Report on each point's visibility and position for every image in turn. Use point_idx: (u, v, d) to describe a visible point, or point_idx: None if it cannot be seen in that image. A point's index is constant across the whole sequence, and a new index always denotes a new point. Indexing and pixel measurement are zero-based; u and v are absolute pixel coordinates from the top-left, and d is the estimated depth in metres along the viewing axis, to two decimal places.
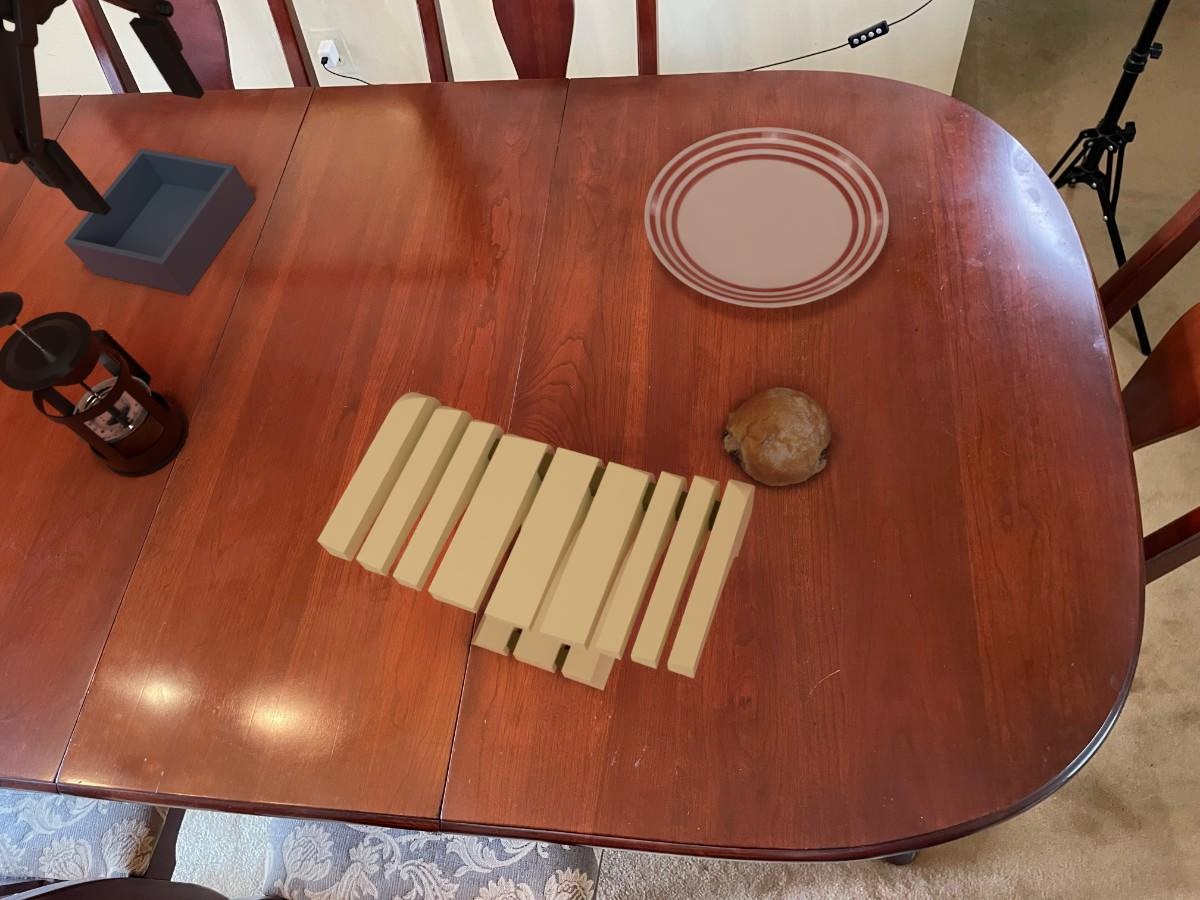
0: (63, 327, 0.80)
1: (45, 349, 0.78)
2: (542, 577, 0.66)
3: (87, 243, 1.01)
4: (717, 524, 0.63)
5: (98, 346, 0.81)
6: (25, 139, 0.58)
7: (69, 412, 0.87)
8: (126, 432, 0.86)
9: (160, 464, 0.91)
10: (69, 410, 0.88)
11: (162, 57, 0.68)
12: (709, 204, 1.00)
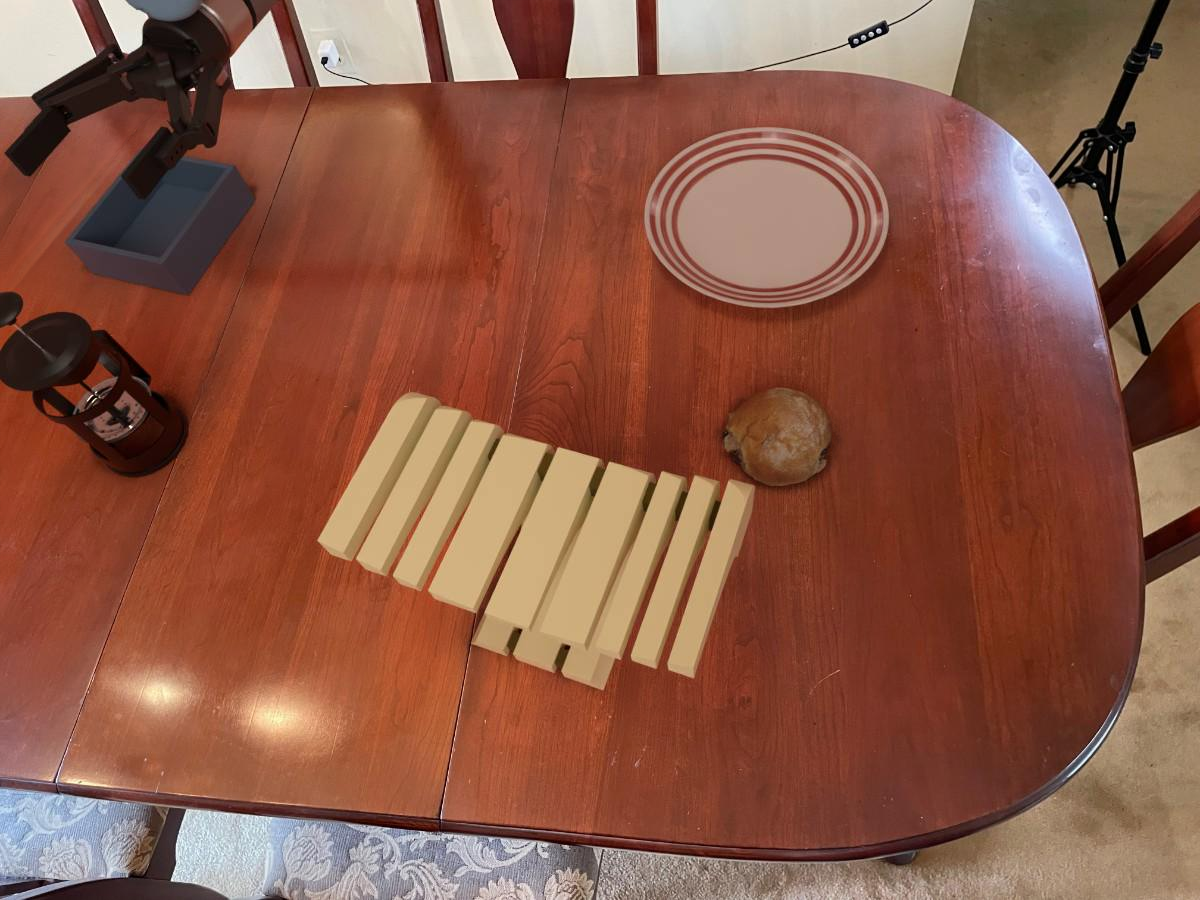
0: (63, 327, 0.80)
1: (45, 349, 0.78)
2: (542, 577, 0.66)
3: (87, 243, 1.01)
4: (717, 524, 0.63)
5: (98, 346, 0.81)
6: None
7: (69, 412, 0.87)
8: (126, 432, 0.86)
9: (160, 464, 0.91)
10: (69, 410, 0.88)
11: (43, 138, 0.81)
12: (709, 204, 1.00)
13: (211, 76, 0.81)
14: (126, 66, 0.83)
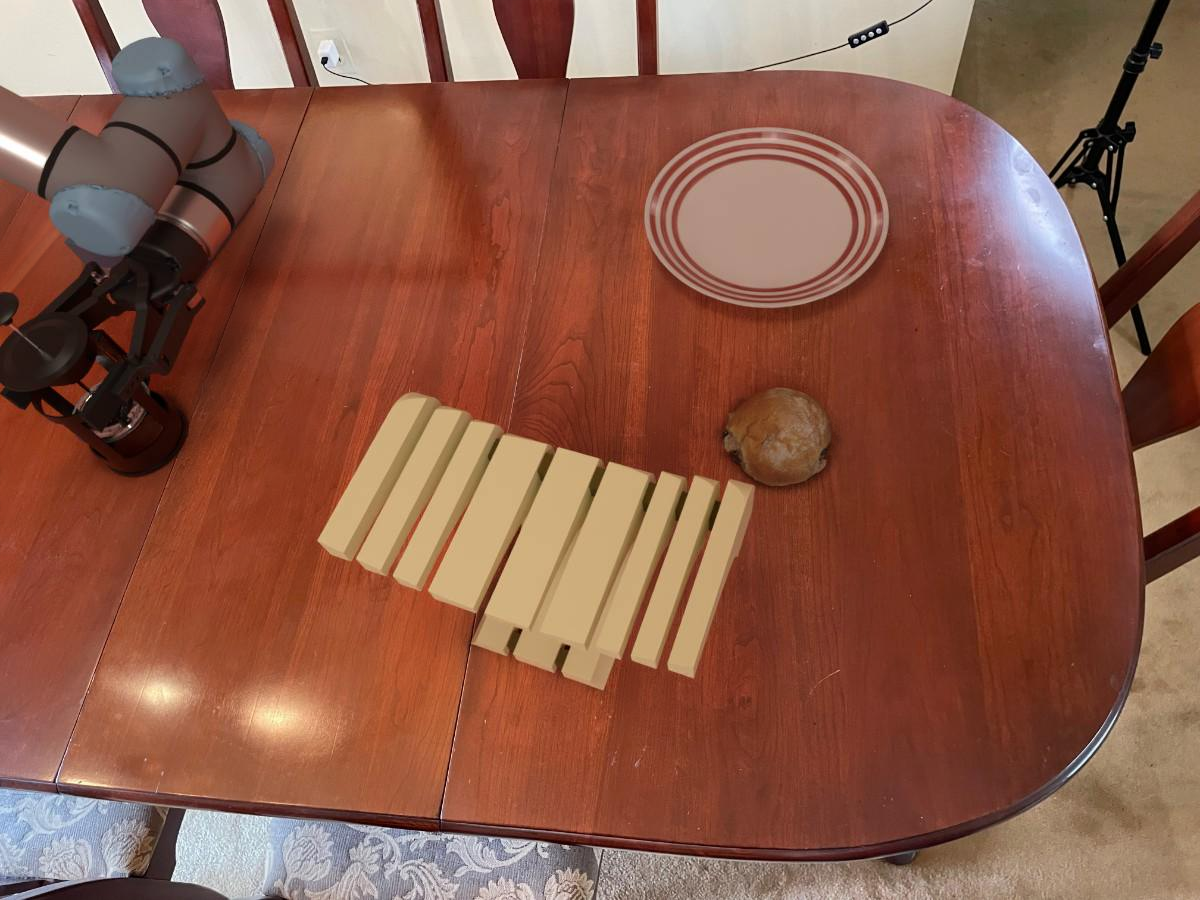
0: (60, 327, 0.79)
1: (42, 349, 0.78)
2: (542, 577, 0.66)
3: None
4: (717, 524, 0.63)
5: (95, 346, 0.81)
6: None
7: (68, 412, 0.87)
8: (125, 432, 0.86)
9: (159, 464, 0.91)
10: (68, 410, 0.88)
11: None
12: (709, 204, 1.00)
13: (181, 303, 0.85)
14: (112, 286, 0.86)
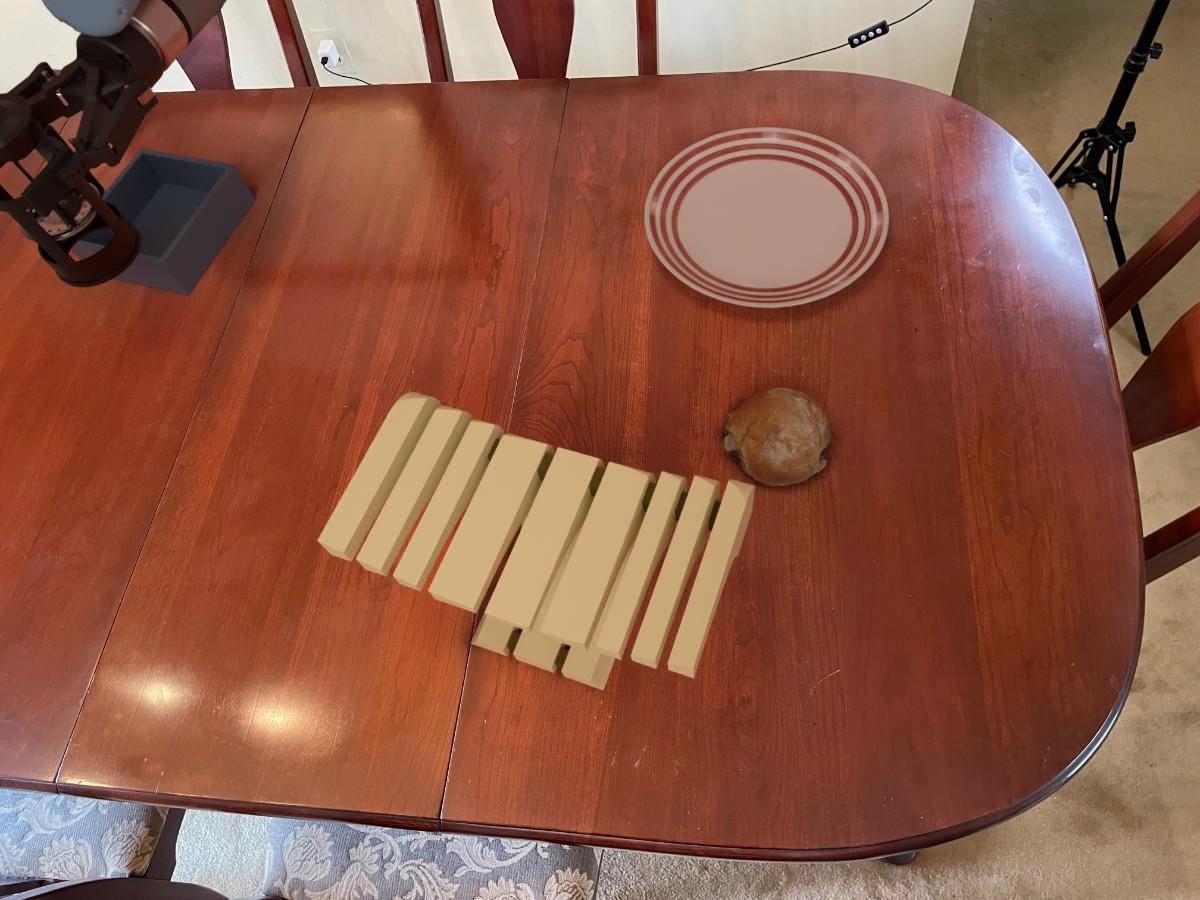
0: (3, 105, 0.77)
1: None
2: (542, 577, 0.66)
3: (87, 243, 1.01)
4: (717, 524, 0.63)
5: (40, 128, 0.79)
6: None
7: None
8: (73, 230, 0.84)
9: (111, 274, 0.89)
10: None
11: None
12: (709, 204, 1.00)
13: (131, 96, 0.83)
14: (61, 81, 0.84)
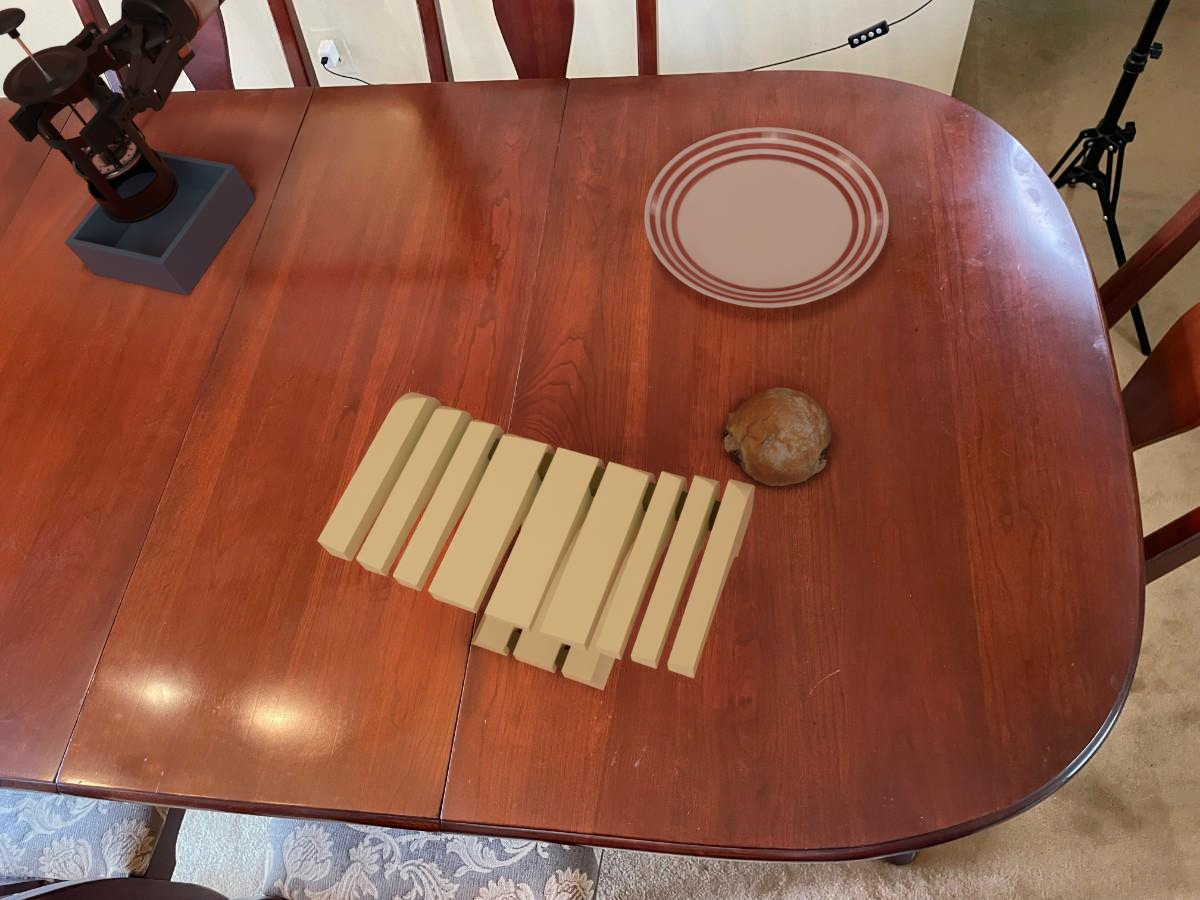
0: (62, 55, 0.88)
1: (46, 71, 0.87)
2: (542, 577, 0.66)
3: (87, 243, 1.01)
4: (717, 524, 0.63)
5: (94, 75, 0.89)
6: None
7: (69, 155, 0.96)
8: (121, 169, 0.95)
9: (153, 211, 1.00)
10: None
11: (42, 108, 0.93)
12: (709, 204, 1.00)
13: (172, 49, 0.94)
14: (109, 37, 0.95)
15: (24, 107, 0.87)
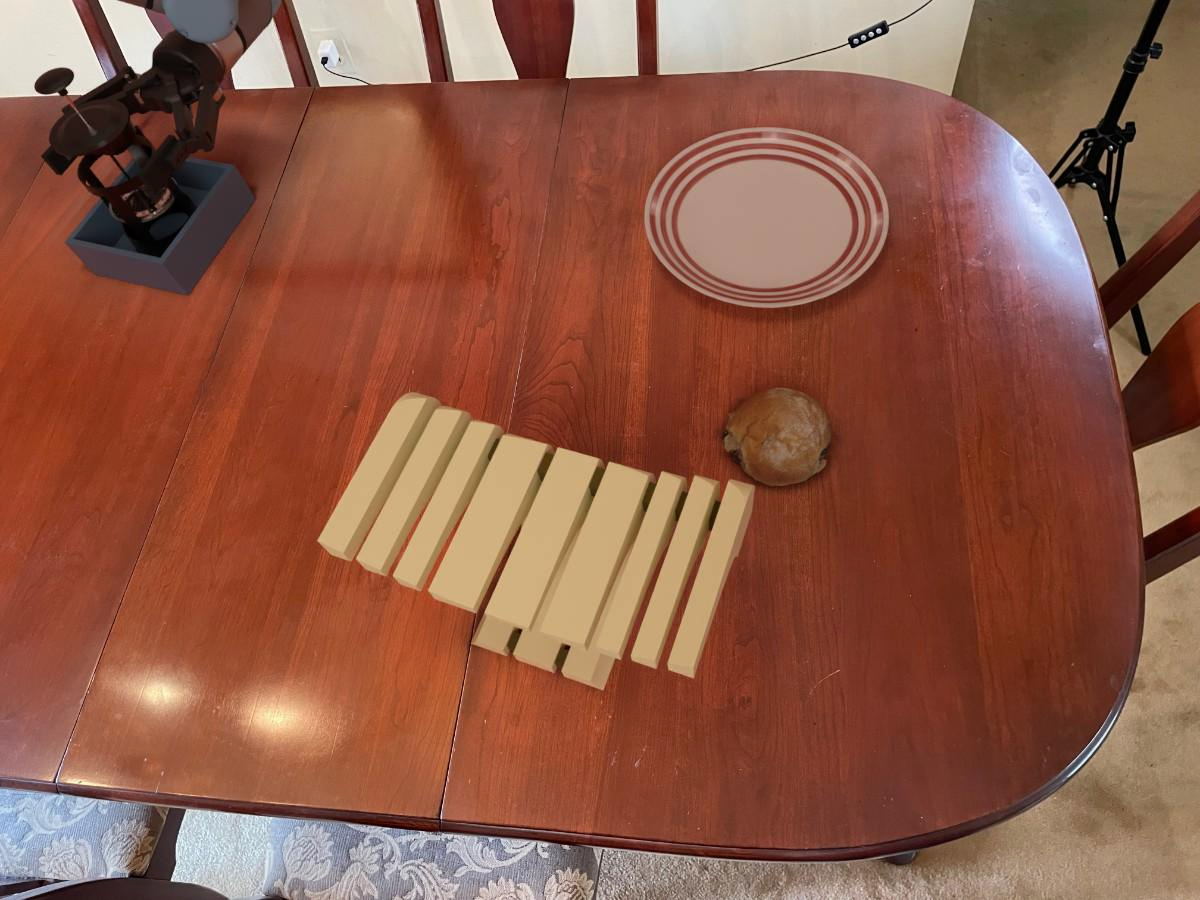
0: (105, 109, 0.94)
1: (90, 124, 0.93)
2: (542, 577, 0.66)
3: (87, 243, 1.01)
4: (717, 524, 0.63)
5: (134, 128, 0.95)
6: None
7: (106, 199, 1.02)
8: (156, 213, 1.01)
9: None
10: None
11: None
12: (709, 204, 1.00)
13: (209, 93, 0.99)
14: (139, 85, 1.01)
15: (69, 158, 0.93)
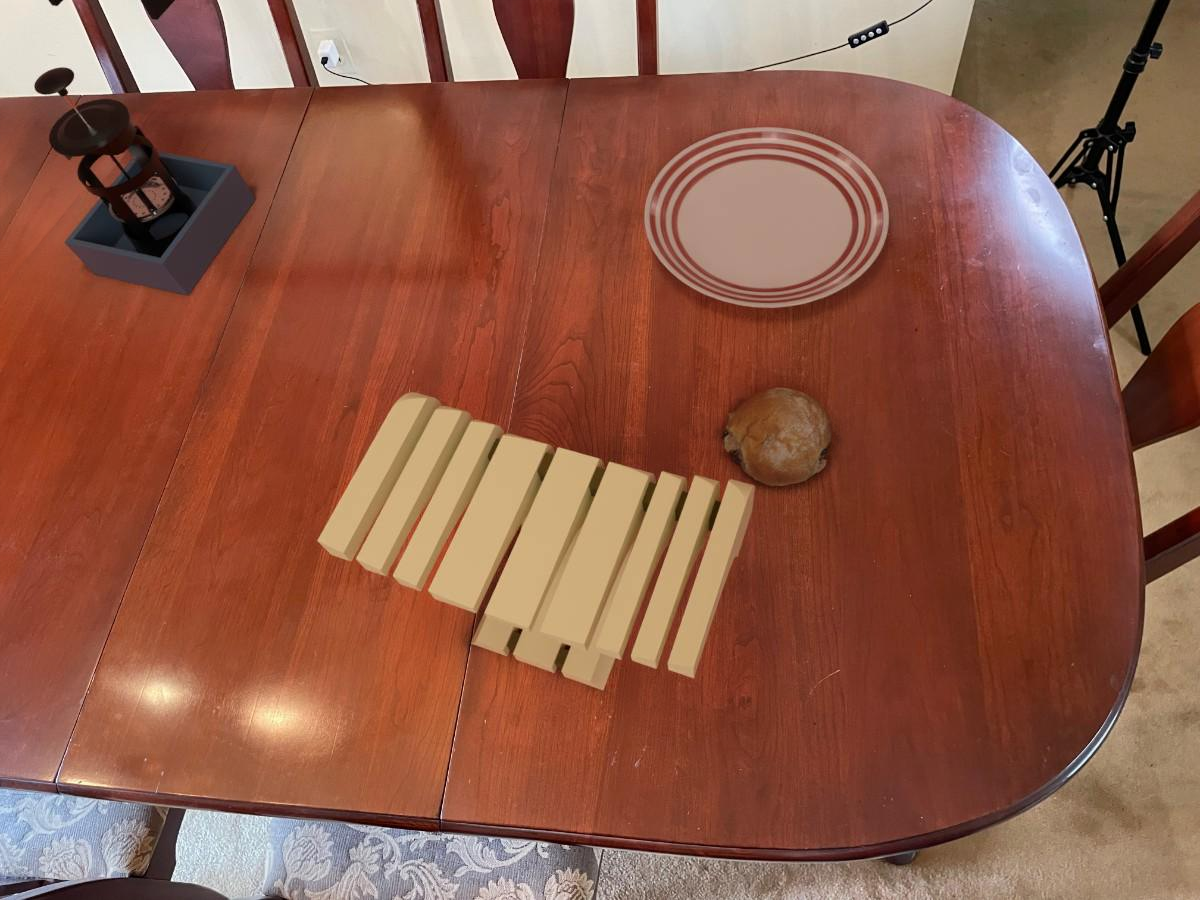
0: (105, 109, 0.94)
1: (90, 124, 0.93)
2: (542, 577, 0.66)
3: (87, 243, 1.01)
4: (717, 524, 0.63)
5: (134, 128, 0.95)
6: None
7: (106, 199, 1.02)
8: (156, 213, 1.01)
9: None
10: None
11: None
12: (709, 204, 1.00)
13: None
14: None
15: (69, 158, 0.93)
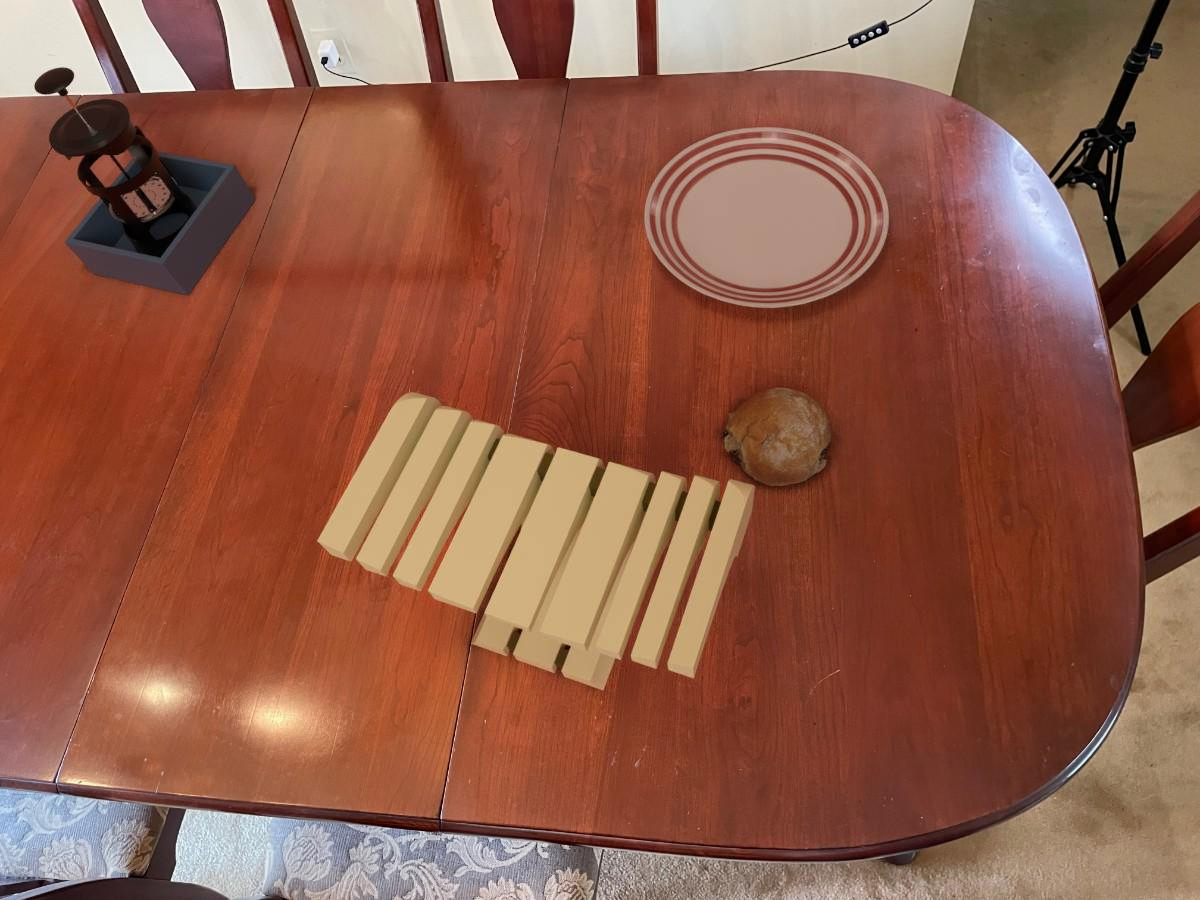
0: (105, 109, 0.94)
1: (90, 124, 0.93)
2: (542, 577, 0.66)
3: (87, 243, 1.01)
4: (717, 524, 0.63)
5: (134, 128, 0.95)
6: None
7: (106, 199, 1.02)
8: (156, 213, 1.01)
9: None
10: None
11: None
12: (709, 204, 1.00)
13: None
14: None
15: (69, 158, 0.93)
